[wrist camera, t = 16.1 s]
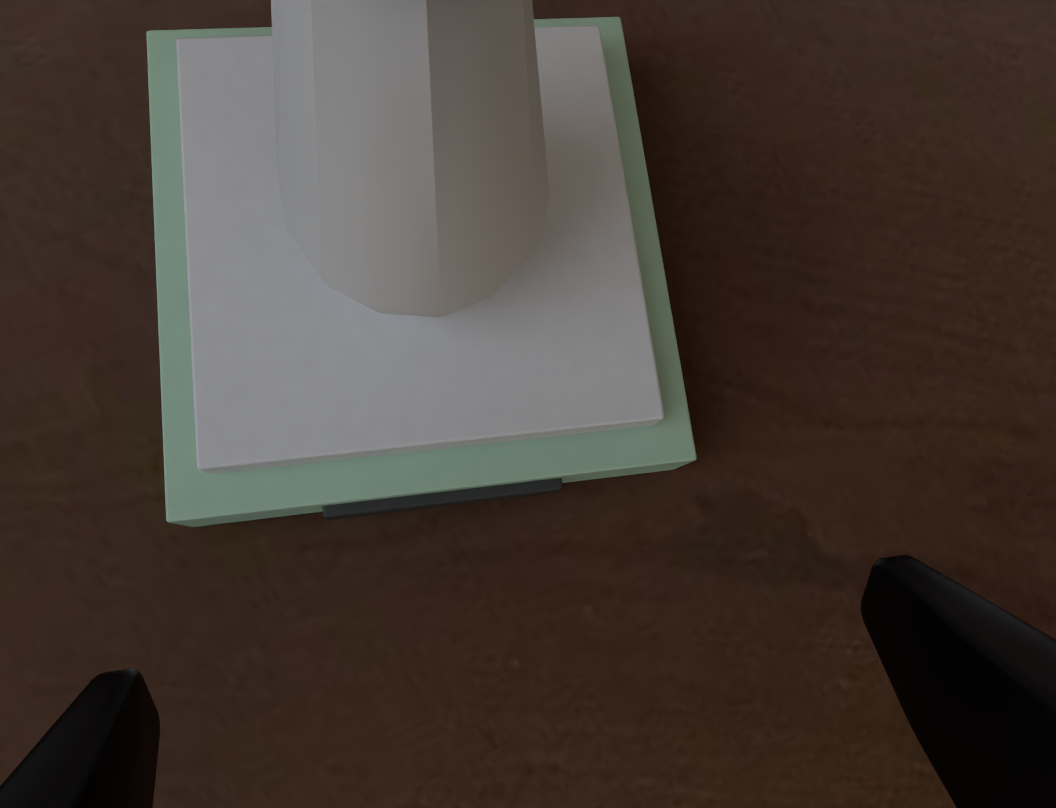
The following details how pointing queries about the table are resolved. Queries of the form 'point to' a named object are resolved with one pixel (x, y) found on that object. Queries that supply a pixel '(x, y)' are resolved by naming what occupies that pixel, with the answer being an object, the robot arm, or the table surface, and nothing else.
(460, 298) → the salt shaker
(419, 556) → the table surface
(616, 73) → the scale
